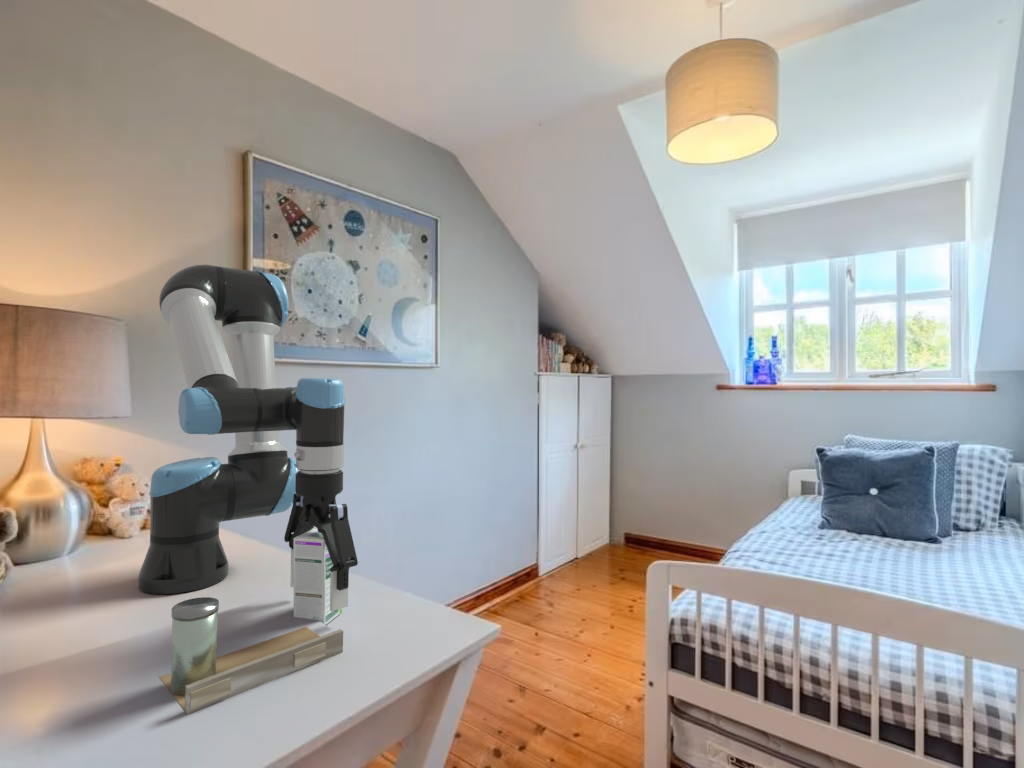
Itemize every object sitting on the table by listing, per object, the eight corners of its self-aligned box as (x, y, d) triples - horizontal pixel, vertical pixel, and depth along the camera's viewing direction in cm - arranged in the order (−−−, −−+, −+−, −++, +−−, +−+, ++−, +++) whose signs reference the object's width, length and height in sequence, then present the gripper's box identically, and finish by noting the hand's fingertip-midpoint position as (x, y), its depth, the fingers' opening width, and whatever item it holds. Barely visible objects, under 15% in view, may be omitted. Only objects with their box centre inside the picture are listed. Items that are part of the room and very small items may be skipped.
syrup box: (324, 628, 87) (325, 538, 87) (291, 624, 89) (292, 535, 88) (342, 613, 93) (343, 529, 93) (311, 609, 94) (312, 526, 94)
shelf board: (159, 686, 70) (159, 654, 70) (306, 634, 85) (306, 607, 85) (187, 725, 63) (188, 689, 63) (343, 660, 78) (344, 631, 77)
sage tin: (164, 684, 69) (166, 605, 69) (208, 668, 73) (210, 594, 72) (177, 701, 65) (179, 618, 65) (223, 684, 69) (225, 605, 69)
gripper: (265, 463, 96) (263, 581, 96) (337, 483, 79) (335, 627, 80) (305, 459, 102) (304, 571, 102) (381, 477, 85) (379, 611, 85)
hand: (317, 596), depth 91 cm, fingers open, 13 cm apart
